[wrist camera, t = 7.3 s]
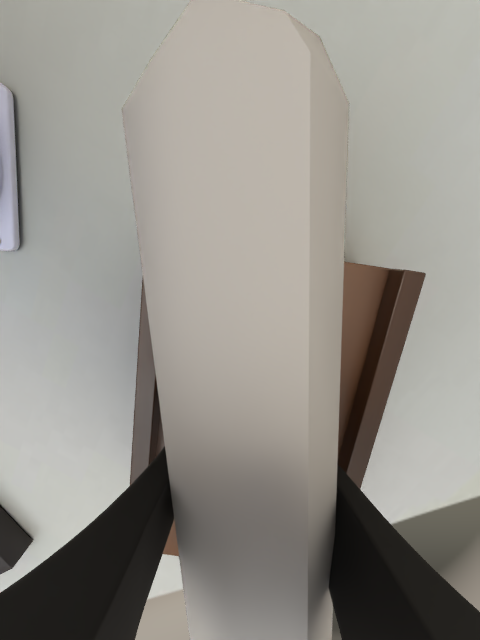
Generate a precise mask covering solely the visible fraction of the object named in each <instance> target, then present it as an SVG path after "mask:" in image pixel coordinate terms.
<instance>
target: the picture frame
mask: <svg viewBox="0 0 480 640" xmlns="http://www.w3.org/2000/svg"><path fill="white" fill-rule="evenodd" d="M32 541H33V540H32V539H31V538H30V537H29V536H28V535H27V534H26V533H25V532H24V531H23V530H22V529H21V528H20V527H19V526H18V525H17V524H16V523H15V521H14V520H13V519H12V518H11V517H10V516H9V515H8V514H7V513H6V512H5V511H4V510H3V509H2V508H1V507H0V574H2V573H4V572H6V571H8V570H10V569H12V568H13V567H14V565H15V564H16V563H17V561H18V560H19V559H20V557H21V556H22V555H23V553H24V552H25V551H26V549H27V548H28V547H29V545H30V544H31V543H32Z"/></svg>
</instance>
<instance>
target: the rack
mask: <svg viewBox="0 0 480 640" xmlns="http://www.w3.org/2000/svg"><path fill="white" fill-rule="evenodd" d="M425 275H426V274H425V273H422V272H415V271H409V270H400V269H389V268H383V267H376V266H370V265H363V264H356V263H350V262H344V279H343V310H342V340H341V370H340V401H339V431H338V461H337V465H338V466H340V467H341V468H342V469H343V470H344V471H345V472H346V474H347V475H348V476H349V477H350V478H351V479H352V481H353V482H354V483H355V484H356V485H357V486H358V488H359V489H360V488H361V485H362V481H363V478H364V475H365V471H366V468H367V465H368V462H369V458H370V455H371V452H372V449H373V445H374V442H375V439H376V435H377V432H378V429H379V426H380V422H381V419H382V416H383V412H384V409H385V406H386V403H387V399H388V396H389V393H390V390H391V386H392V383H393V380H394V376H395V373H396V370H397V367H398V363H399V360H400V357H401V354H402V350H403V347H404V344H405V340H406V337H407V334H408V331H409V327H410V324H411V321H412V318H413V314H414V311H415V308H416V304H417V301H418V298H419V295H420V291H421V288H422V285H423V281H424V278H425ZM164 446H165V442H164V435H163V427H162V419H161V411H160V404H159V396H158V388H157V380H156V373H155V365H154V357H153V349H152V342H151V334H150V326H149V319H148V311H147V303H146V295H145V288H144V280H142V296H141V313H140V329H139V345H138V361H137V378H136V394H135V410H134V426H133V443H132V459H131V475H130V485H131V484H132V483H133V482H134V481H135V480H136V479H137V478H138V477H139V476H140V475H141V474H142V472H143V471H144V470H145V469H146V468H147V467H148V466H149V465H150V463H151V462H152V461H153V460H154V459H155V458H156V456H157V455H158V454H159V453H160V451H161V450H162V449H163V448H164ZM163 554H167V555H174V556H179V551H178V543H177V535H176V528H175V520H174V521H173V524H172V527H171V530H170V533H169V536H168V539H167V542H166V545H165V548H164V551H163Z"/></svg>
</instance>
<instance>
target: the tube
mask: <svg viewBox="0 0 480 640" xmlns="http://www.w3.org/2000/svg"><path fill="white" fill-rule="evenodd" d="M122 117H123V125H124V133H125V140H126V148H127V156H128V164H129V171H130V179H131V187H132V195H133V202H134V210H135V218H136V226H137V233H138V241H139V249H140V257H141V264H142V272H143V280H144V288H145V295H146V303H147V311H148V319H149V326H150V334H151V342H152V349H153V357H154V365H155V373H156V380H157V388H158V396H159V404H160V411H161V419H162V427H163V435H164V442H165V450H166V458H167V466H168V473H169V481H170V489H171V497H172V504H173V512H174V520H175V528H176V535H177V543H178V551H179V559H180V566H181V574H182V582H183V590H184V597H185V605H186V613H187V620H188V628H189V636H190V640H332V612H333V603H332V599H331V596H330V592H329V588H328V586H329V578H330V570H331V562H332V554H333V546H334V538H335V522H336V492H337V461H338V431H339V401H340V370H341V340H342V310H343V279H344V249H345V219H346V188H347V158H348V128H349V102H348V99H347V97H346V95H345V93H344V90H343V88H342V86H341V84H340V81H339V79H338V77H337V75H336V72H335V70H334V68H333V66H332V63H331V61H330V59H329V57H328V54H327V52H326V50H325V48H324V45H323V43H322V41H321V39H320V36H318V35H317V34H315V33H314V32H313V31H311V30H310V29H309V28H307V27H306V26H305V25H303V24H302V23H301V22H299V21H298V20H297V19H295V18H294V17H292V16H291V15H290V14H288V13H287V12H286V11H284V10H280V9H275V8H271V7H266V6H262V5H257V4H253V3H248V2H244V1H239V0H191V1H190V2H189V4H188V5H187V7H186V8H185V10H184V11H183V13H182V14H181V16H180V17H179V18H178V20H177V21H176V23H175V24H174V26H173V27H172V29H171V30H170V32H169V33H168V34H167V36H166V37H165V39H164V40H163V42H162V43H161V45H160V46H159V48H158V49H157V50H156V52H155V53H154V55H153V56H152V58H151V59H150V61H149V63H148V64H147V66H146V68H145V69H144V71H143V73H142V75H141V76H140V78H139V80H138V82H137V83H136V85H135V87H134V88H133V90H132V92H131V94H130V95H129V97H128V99H127V100H126V102H125V104H124V106H123V107H122Z"/></svg>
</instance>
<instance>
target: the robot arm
mask: <svg viewBox="0 0 480 640" xmlns="http://www.w3.org/2000/svg"><path fill="white" fill-rule="evenodd" d="M0 239H1V243H0V250H3V251H15V250H17V249H18V248H19V244H20V240H19V217H18V194H17V171H16V148H15V125H14V102H13V95H12V93H11V91H10V90H9V89H8V88H7V87H6V86H5V85H3V84H2V83H0ZM173 521H174V512H173V504H172V497H171V489H170V481H169V473H168V466H167V458H166V450H165V446H164V448H163V449H162V450H161V451H160V453H159V454H158V455H157V456H156V458H155V459H154V460H153V461H152V462H151V463H150V465H149V466H148V467H147V468H146V469H145V470H144V471H143V472H142V474H141V475H140V476H139V477H138V478H137V479H136V480H135V481H134V482H133V483H132V484H131V485H130V486H129V487H128V488H127V489H126V490H125V491H124V492H123V493H122V494H121V495H120V496H119V497H118V498H117V499H116V500H115V501H114V502H113V503H112V504H111V505H110V506H109V507H108V508H107V509H106V510H105V511H104V512H103V513H102V514H101V515H99V516H98V517H97V518H96V519H95V520H94V521H93V522H92V523H90V524H89V525H88V526H87V527H86V528H85V529H84V530H82V531H81V532H80V533H79V534H78V535H76V536H75V537H74V538H73V539H72V540H70V541H69V542H68V543H67V544H65V545H64V546H63V547H62V548H60V549H59V550H58V551H57V552H55V553H54V554H53V555H52V556H50V557H49V558H48V559H46V560H45V561H44V562H43V563H41V564H40V565H39V566H37V567H36V568H35V569H33V570H32V571H31V572H29V573H28V574H27V575H25V576H24V577H22V578H21V579H20V580H18V581H17V582H15V583H14V584H12V585H11V586H10V587H8V588H7V589H5V590H4V591H2V592H1V593H0V640H135V637H136V633H137V629H138V626H139V622H140V619H141V616H142V612H143V610H144V606H145V603H146V600H147V597H148V595H149V592H150V589H151V586H152V583H153V580H154V577H155V574H156V571H157V568H158V565H159V563H160V560H161V557H162V554H163V551H164V548H165V545H166V542H167V539H168V536H169V533H170V530H171V527H172V524H173ZM328 588H329V592H330V596H331V599H332V603H333V607H334V610H335V614H336V618H337V621H338V625H339V629H340V633H341V637H342V640H480V612H479V611H478V610H477V609H476V608H475V607H474V606H473V605H471V604H470V603H469V602H468V601H467V600H466V599H465V598H464V597H463V596H461V595H460V594H459V593H458V592H457V591H456V590H455V589H454V588H453V587H452V586H451V585H450V584H449V583H448V582H447V581H446V580H445V579H443V578H442V577H441V576H440V575H439V574H438V573H437V572H436V571H435V570H434V569H433V568H432V567H431V566H430V565H429V564H428V563H427V562H426V561H425V560H424V559H423V558H422V557H421V556H420V555H419V554H418V553H417V552H416V551H415V550H414V549H413V548H412V547H411V546H410V545H409V544H408V543H407V542H406V540H405V539H404V538H403V537H402V536H401V535H400V534H399V533H398V532H397V531H396V530H395V529H394V528H393V526H392V525H391V524H390V523H389V522H388V521H387V520H386V519H385V518H384V517H383V515H382V514H381V513H380V512H379V511H378V510H377V509H376V507H375V506H374V505H373V504H372V503H371V502H370V501H369V499H368V498H367V497H366V496H365V495H364V494H363V492H362V491H361V490H360V489H359V488H358V486H357V485H356V484H355V483H354V482H353V481H352V479H351V478H350V477H349V476H348V475H347V474H346V472H345V471H344V470H343V469H342V468H341V467H340V466H338V465H337V492H336V522H335V538H334V546H333V554H332V562H331V570H330V578H329V586H328Z"/></svg>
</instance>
